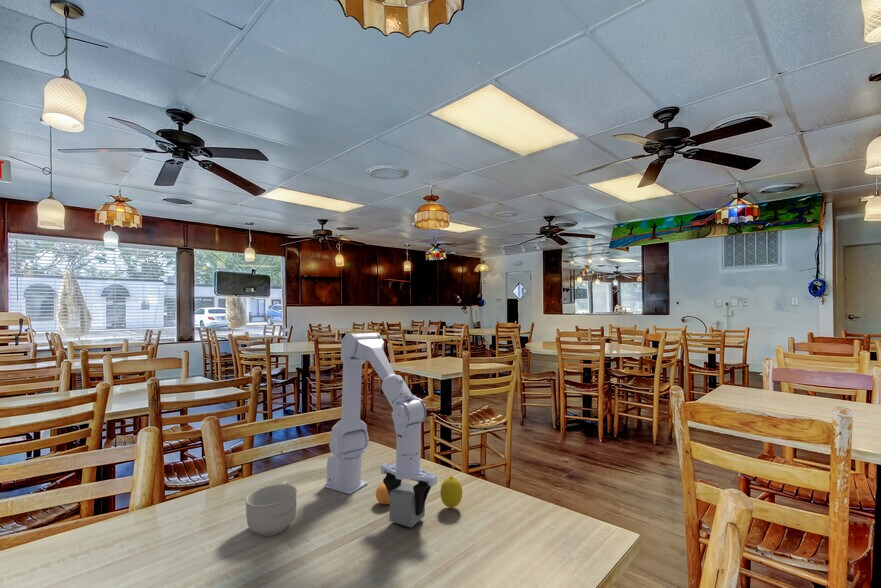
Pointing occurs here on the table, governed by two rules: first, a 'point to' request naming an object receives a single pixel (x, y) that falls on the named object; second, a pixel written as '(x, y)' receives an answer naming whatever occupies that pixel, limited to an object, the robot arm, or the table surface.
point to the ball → (382, 494)
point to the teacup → (271, 508)
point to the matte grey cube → (404, 506)
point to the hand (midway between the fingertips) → (407, 509)
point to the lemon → (451, 492)
